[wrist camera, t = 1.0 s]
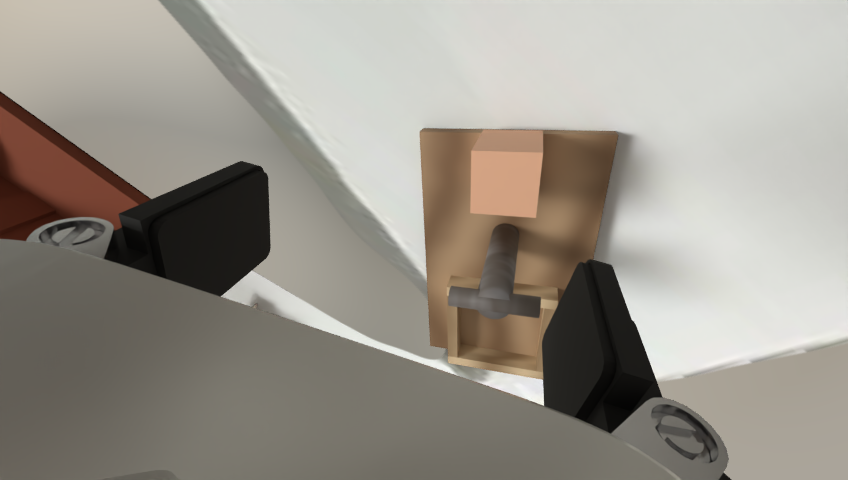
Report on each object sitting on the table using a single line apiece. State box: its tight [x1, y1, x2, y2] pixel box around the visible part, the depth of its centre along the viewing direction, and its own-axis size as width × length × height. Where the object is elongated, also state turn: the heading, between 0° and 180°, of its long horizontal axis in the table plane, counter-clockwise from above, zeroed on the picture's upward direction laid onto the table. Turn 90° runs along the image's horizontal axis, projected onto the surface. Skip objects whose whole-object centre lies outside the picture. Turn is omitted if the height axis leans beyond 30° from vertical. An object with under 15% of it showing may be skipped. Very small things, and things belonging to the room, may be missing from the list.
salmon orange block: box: [470, 130, 543, 218], centre depth 27 cm, size 4×4×6 cm
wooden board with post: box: [420, 128, 618, 380], centre depth 31 cm, size 15×24×12 cm, turn 3°
